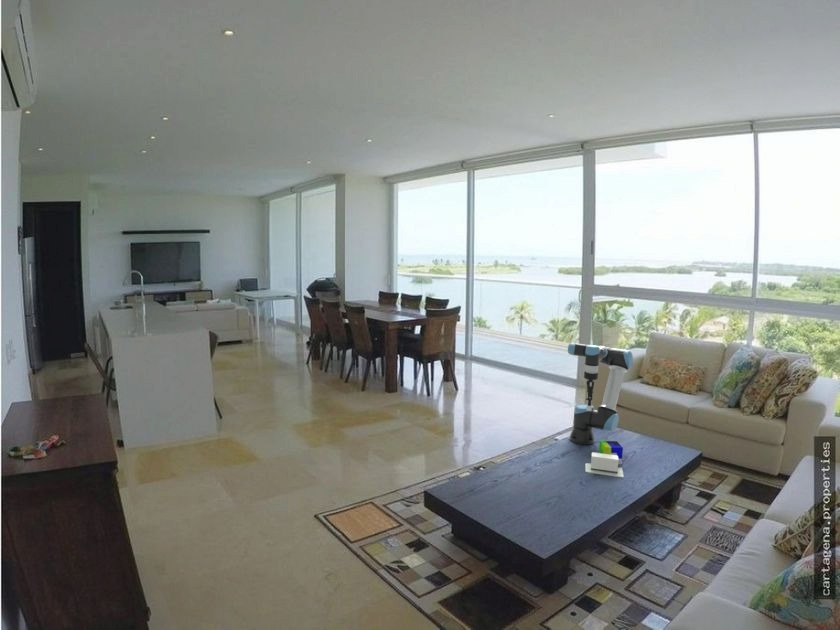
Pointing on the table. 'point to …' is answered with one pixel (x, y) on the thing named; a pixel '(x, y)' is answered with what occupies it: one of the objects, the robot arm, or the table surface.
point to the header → (603, 471)
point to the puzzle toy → (611, 449)
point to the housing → (604, 462)
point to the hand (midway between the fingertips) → (588, 407)
